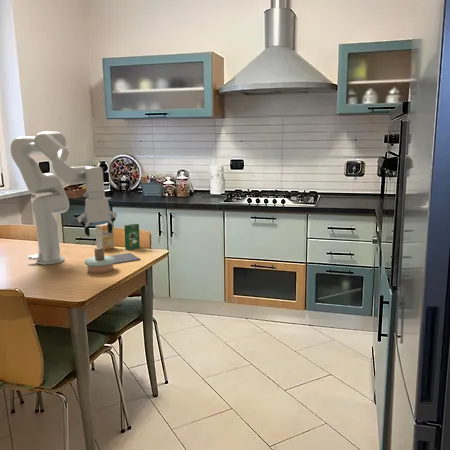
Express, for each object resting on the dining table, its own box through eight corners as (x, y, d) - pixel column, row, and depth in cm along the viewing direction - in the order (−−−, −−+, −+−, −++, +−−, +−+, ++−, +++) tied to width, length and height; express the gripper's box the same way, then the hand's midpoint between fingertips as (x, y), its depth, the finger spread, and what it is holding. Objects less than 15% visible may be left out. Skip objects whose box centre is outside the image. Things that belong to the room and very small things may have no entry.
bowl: (91, 275, 204) (91, 266, 203) (84, 269, 213) (84, 261, 212) (116, 270, 209) (116, 263, 209) (108, 265, 219) (108, 257, 218)
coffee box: (136, 246, 254) (135, 222, 251) (140, 247, 252) (139, 223, 249) (125, 249, 247) (123, 225, 245) (128, 250, 246) (127, 225, 243)
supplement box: (103, 250, 246) (101, 226, 243) (96, 249, 248) (95, 225, 246) (114, 247, 252) (113, 223, 250) (108, 246, 255) (106, 222, 252)
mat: (111, 264, 220) (111, 263, 220) (102, 257, 232) (102, 256, 231) (140, 260, 227) (140, 258, 227) (130, 253, 239) (130, 252, 238)
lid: (89, 267, 202) (88, 253, 201) (81, 261, 213) (80, 247, 211) (118, 263, 208) (118, 249, 207) (109, 256, 219) (109, 243, 218)
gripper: (77, 198, 197) (81, 238, 200) (117, 194, 206) (120, 232, 209) (73, 196, 203) (76, 235, 207) (112, 192, 212) (115, 230, 215)
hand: (99, 234), depth 208 cm, fingers open, 9 cm apart
